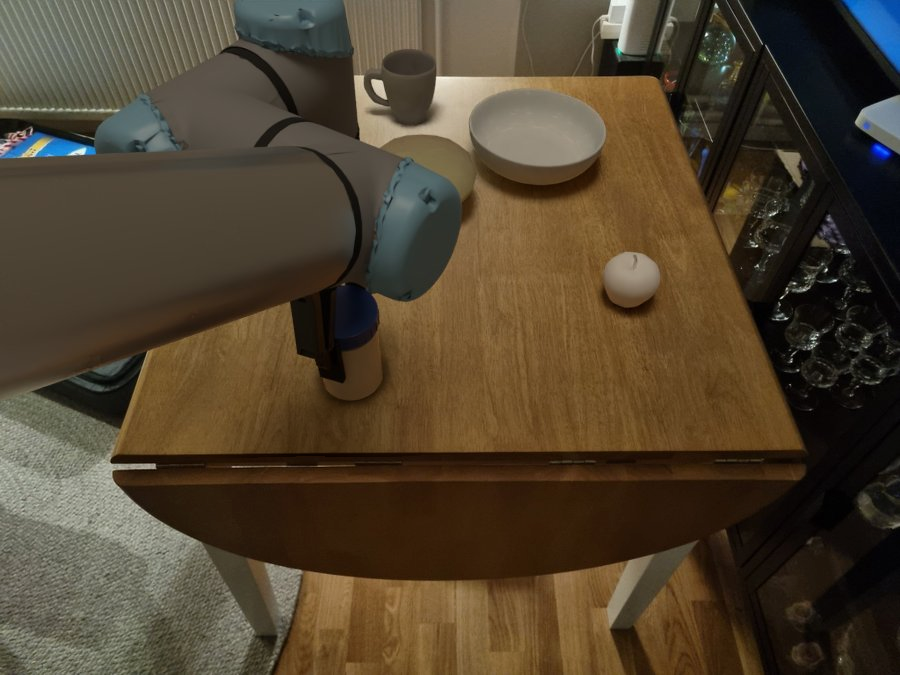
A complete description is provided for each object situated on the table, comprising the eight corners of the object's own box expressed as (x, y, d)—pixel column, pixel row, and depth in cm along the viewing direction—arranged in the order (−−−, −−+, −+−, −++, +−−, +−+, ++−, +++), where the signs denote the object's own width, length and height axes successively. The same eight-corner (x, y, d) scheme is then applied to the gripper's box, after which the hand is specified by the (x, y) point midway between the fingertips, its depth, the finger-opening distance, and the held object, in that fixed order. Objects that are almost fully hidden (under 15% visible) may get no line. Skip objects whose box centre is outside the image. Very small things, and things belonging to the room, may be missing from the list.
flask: (473, 171, 101) (478, 254, 90) (371, 170, 101) (364, 254, 90) (476, 119, 94) (481, 203, 83) (366, 118, 93) (357, 203, 83)
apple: (589, 282, 87) (601, 237, 80) (639, 275, 88) (654, 230, 81) (608, 321, 82) (622, 277, 76) (660, 313, 83) (678, 268, 77)
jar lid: (295, 316, 69) (292, 303, 68) (356, 287, 72) (355, 274, 71) (330, 362, 65) (327, 350, 64) (393, 330, 68) (392, 317, 67)
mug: (437, 102, 114) (437, 49, 106) (434, 131, 108) (434, 77, 101) (369, 100, 114) (365, 46, 106) (363, 128, 108) (357, 74, 101)
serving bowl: (551, 222, 94) (558, 184, 89) (440, 166, 102) (440, 127, 97) (622, 157, 104) (632, 119, 99) (516, 111, 113) (520, 73, 107)
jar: (347, 411, 73) (336, 354, 65) (311, 374, 76) (296, 315, 68) (394, 377, 76) (390, 318, 68) (357, 343, 79) (349, 282, 71)
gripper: (306, 273, 48) (341, 433, 65) (404, 126, 60) (411, 294, 78) (217, 250, 49) (274, 413, 67) (331, 111, 61) (354, 280, 79)
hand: (348, 349), depth 72 cm, fingers closed on jar lid, 7 cm apart
